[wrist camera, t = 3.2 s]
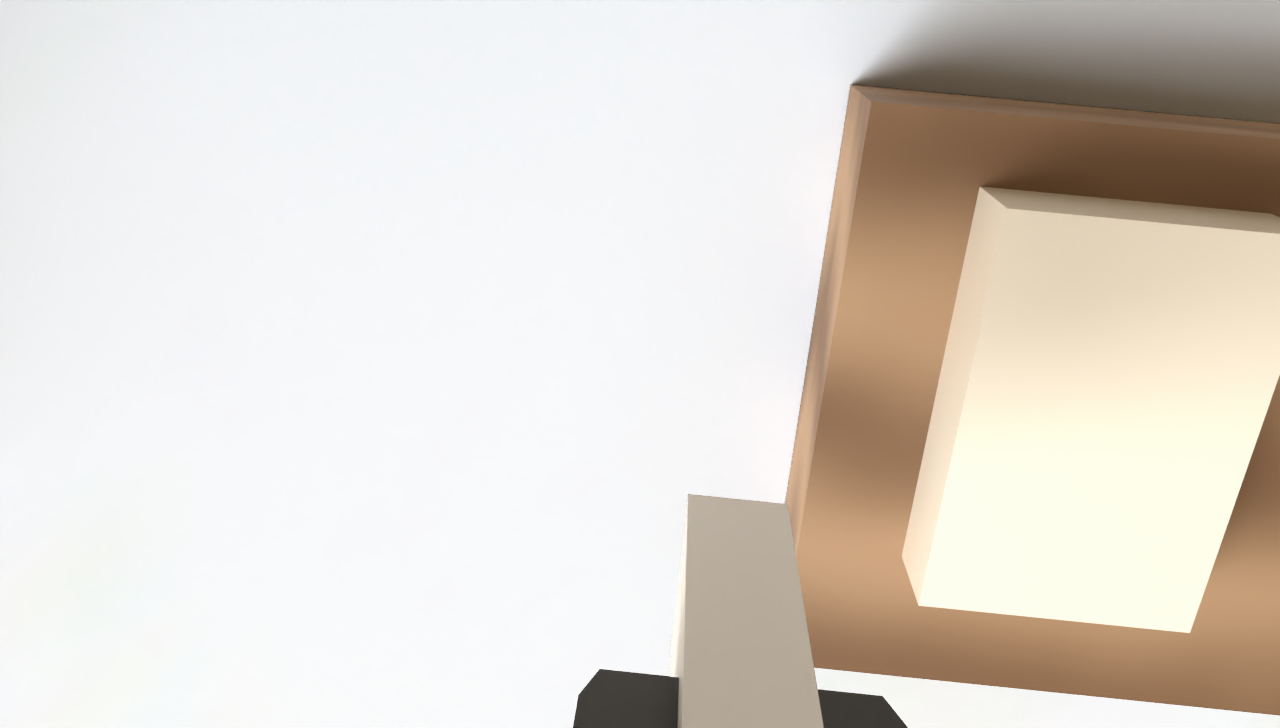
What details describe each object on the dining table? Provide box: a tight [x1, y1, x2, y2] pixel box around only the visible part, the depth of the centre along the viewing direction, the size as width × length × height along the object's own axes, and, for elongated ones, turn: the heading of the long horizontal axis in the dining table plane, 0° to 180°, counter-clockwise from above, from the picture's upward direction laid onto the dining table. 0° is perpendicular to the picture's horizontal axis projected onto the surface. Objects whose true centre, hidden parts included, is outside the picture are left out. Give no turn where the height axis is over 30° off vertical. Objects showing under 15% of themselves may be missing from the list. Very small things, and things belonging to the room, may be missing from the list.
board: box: [785, 85, 1280, 715], centre depth 24 cm, size 14×14×3 cm
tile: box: [902, 187, 1280, 633], centre depth 22 cm, size 9×6×2 cm, turn 175°
